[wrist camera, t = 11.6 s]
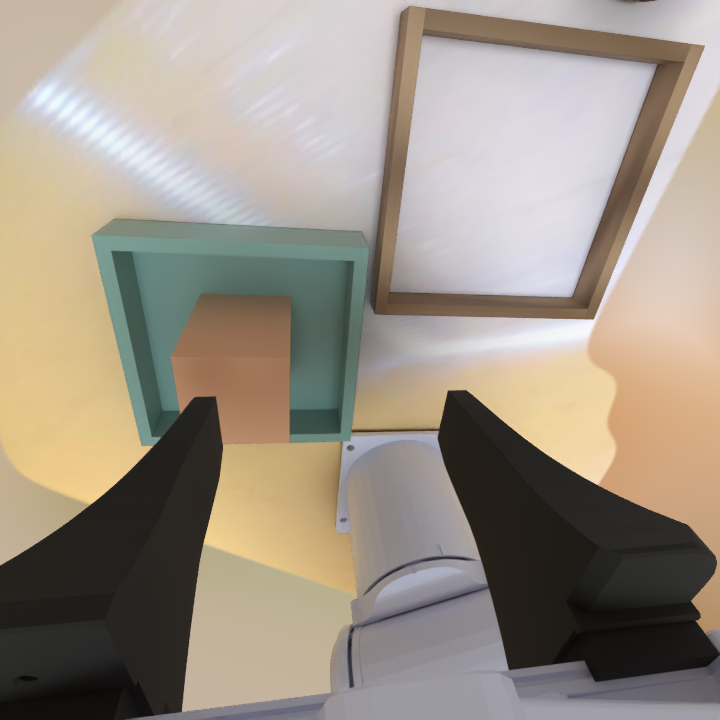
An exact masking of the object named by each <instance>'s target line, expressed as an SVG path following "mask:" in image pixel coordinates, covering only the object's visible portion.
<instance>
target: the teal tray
mask: <svg viewBox="0 0 720 720" xmlns="http://www.w3.org/2000/svg"><path fill="white" fill-rule="evenodd" d="M92 239H93V244H94V248H95V252H96V256H97V260H98V265H99V269H100V273H101V277H102V281H103V286H104V290H105V294H106V298H107V302H108V307H109V311H110V315H111V319H112V323H113V328H114V332H115V336H116V340H117V344H118V349H119V353H120V357H121V361H122V365H123V370H124V374H125V378H126V382H127V386H128V391H129V395H130V399H131V403H132V407H133V412H134V416H135V420H136V424H137V428H138V433H139V437H140V441H141V445H142V446H154V445H155V444H156V443H157V442H158V440H159V439H160V438H161V437H162V436H163V435H164V433H165V432H166V431H167V430H168V429H169V428H170V426H171V425H172V424H173V423H174V422H175V420H176V419H177V418H178V417H179V415H180V410H179V404H178V397H177V391H176V385H175V379H174V373H173V367H172V361H171V355H172V353H173V351H174V349H175V347H176V345H177V343H178V341H179V339H180V336H181V334H182V332H183V330H184V328H185V326H186V324H187V322H188V320H189V317H190V315H191V313H192V311H193V309H194V307H195V305H196V303H197V301H198V298H199V296H200V294H228V295H260V296H291V390H290V441H289V443H299V442H345V441H351V430H352V420H353V410H354V400H355V389H356V379H357V369H358V359H359V348H360V338H361V328H362V318H363V307H364V297H365V287H366V277H367V266H368V256H369V246H368V244H367V242H366V240H365V238H364V236H363V234H362V232H356V231H337V230H318V229H299V228H280V227H261V226H242V225H223V224H204V223H185V222H166V221H147V220H128V219H114V220H112V221H111V222H109V223H108V224H107V225H105V226H104V227H102V228H101V229H99V230H98V231H97V232H95V233H94V234H92ZM251 444H252V443H251Z"/></svg>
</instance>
